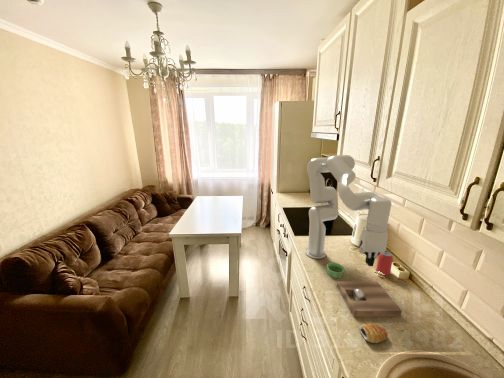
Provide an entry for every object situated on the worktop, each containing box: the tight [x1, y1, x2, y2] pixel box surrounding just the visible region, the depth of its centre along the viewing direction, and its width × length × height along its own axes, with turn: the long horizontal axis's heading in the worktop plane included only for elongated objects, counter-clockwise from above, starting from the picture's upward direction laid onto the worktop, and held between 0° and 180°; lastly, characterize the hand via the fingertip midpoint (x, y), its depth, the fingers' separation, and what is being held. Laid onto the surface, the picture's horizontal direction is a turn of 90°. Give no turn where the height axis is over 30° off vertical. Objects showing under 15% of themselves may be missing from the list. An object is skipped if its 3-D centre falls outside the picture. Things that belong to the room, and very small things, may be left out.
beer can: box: [375, 250, 394, 277], centre depth 116 cm, size 7×7×12 cm
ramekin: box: [326, 262, 345, 279], centre depth 116 cm, size 9×9×4 cm
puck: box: [352, 289, 365, 301], centre depth 98 cm, size 5×5×3 cm
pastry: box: [358, 323, 388, 344], centre depth 80 cm, size 9×7×4 cm
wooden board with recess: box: [336, 280, 403, 318], centre depth 98 cm, size 18×20×3 cm
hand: (369, 264), depth 94 cm, fingers closed
